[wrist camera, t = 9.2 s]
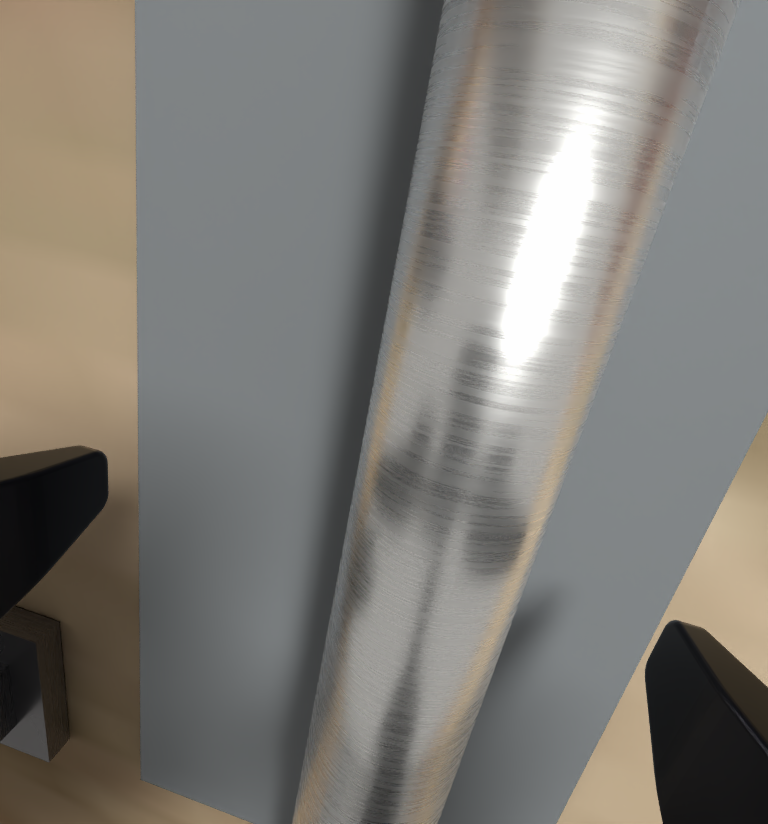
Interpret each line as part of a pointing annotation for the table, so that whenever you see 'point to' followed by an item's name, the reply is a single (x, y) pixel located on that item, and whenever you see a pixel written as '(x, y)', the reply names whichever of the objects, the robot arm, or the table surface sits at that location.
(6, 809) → the table surface
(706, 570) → the table surface
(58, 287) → the table surface
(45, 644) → the dark grey notched cradle
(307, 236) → the grey plate
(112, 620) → the table surface
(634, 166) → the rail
